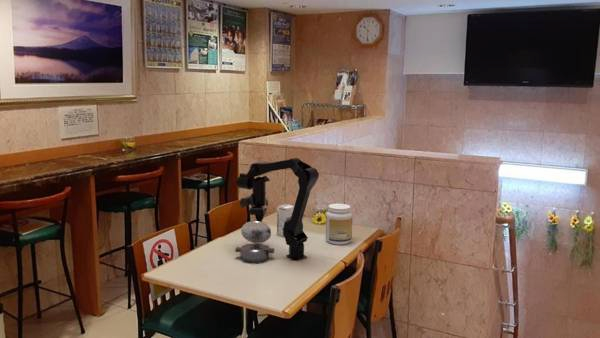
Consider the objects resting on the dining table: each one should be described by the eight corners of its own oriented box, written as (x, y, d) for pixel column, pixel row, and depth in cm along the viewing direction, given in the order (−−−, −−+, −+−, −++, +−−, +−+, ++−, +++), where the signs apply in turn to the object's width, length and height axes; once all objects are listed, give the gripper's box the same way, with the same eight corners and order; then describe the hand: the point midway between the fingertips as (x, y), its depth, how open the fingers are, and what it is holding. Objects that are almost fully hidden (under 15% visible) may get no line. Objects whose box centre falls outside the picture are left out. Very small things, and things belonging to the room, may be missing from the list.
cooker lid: (242, 242, 215) (243, 237, 217) (271, 243, 214) (272, 238, 216) (239, 222, 207) (240, 217, 209) (270, 222, 206) (270, 218, 208)
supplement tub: (356, 243, 230) (357, 207, 227) (333, 246, 225) (334, 210, 222) (342, 235, 241) (343, 201, 238) (320, 239, 236) (321, 204, 233)
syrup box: (284, 232, 245) (284, 203, 243) (293, 234, 241) (294, 205, 239) (276, 235, 241) (276, 205, 238) (286, 237, 237) (286, 208, 235)
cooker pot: (277, 259, 208) (277, 248, 207) (248, 266, 200) (248, 255, 199) (261, 250, 218) (261, 240, 217) (232, 257, 210) (232, 246, 209)
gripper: (244, 186, 226) (244, 219, 229) (236, 195, 208) (237, 231, 210) (268, 186, 226) (268, 219, 228) (263, 195, 207) (263, 231, 210)
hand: (259, 225), depth 219 cm, fingers closed
